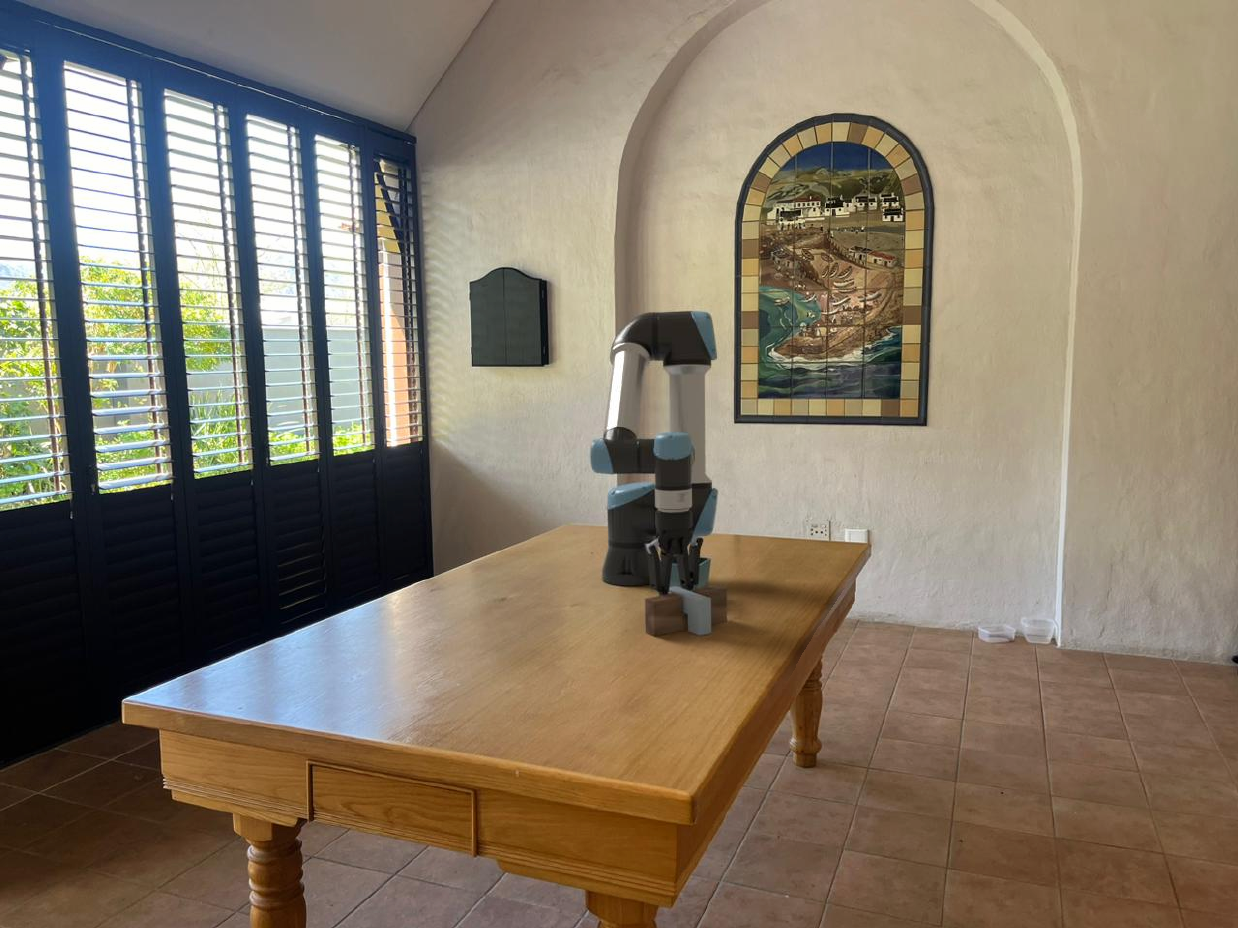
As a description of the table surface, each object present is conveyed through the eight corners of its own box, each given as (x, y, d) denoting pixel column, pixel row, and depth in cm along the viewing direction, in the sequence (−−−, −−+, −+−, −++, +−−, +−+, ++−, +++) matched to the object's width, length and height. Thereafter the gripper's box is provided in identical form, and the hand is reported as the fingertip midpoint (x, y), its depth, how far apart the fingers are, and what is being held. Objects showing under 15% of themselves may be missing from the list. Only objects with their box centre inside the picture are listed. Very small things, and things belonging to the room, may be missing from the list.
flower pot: (712, 595, 213) (711, 557, 212) (698, 606, 205) (698, 565, 204) (675, 592, 216) (675, 554, 215) (661, 602, 209) (660, 562, 207)
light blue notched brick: (664, 621, 194) (664, 588, 193) (676, 618, 196) (676, 586, 195) (698, 635, 184) (698, 600, 183) (711, 632, 185) (710, 598, 185)
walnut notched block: (645, 632, 187) (644, 598, 186) (718, 617, 196) (717, 584, 195) (653, 636, 184) (653, 601, 183) (726, 620, 193) (726, 587, 192)
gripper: (650, 515, 183) (652, 632, 186) (716, 507, 192) (717, 619, 194) (630, 510, 190) (632, 623, 193) (695, 502, 198) (696, 610, 201)
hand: (675, 620), depth 193 cm, fingers closed on light blue notched brick, 3 cm apart
